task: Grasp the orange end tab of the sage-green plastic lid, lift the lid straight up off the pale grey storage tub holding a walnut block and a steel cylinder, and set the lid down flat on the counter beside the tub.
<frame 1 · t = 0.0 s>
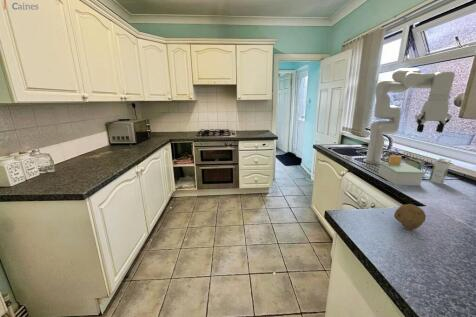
hand: (429, 131, 111), 31 cm above the counter, tool pointing down, fingers open, 9 cm apart
natural sponge: (406, 228, 82), on the counter
syrup box: (435, 183, 124), on the counter
tub: (397, 181, 127), on the counter
walnut block: (391, 177, 130), point 1 cm above the counter, touching tub
food container: (414, 174, 139), on the counter
steel cylinder: (406, 182, 123), point 1 cm above the counter, touching tub
lid: (400, 170, 125), point 7 cm above the counter, touching tub
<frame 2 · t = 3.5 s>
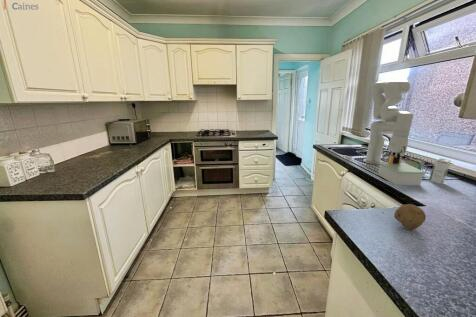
hand: (394, 162, 130), 10 cm above the counter, tool pointing down, fingers closed on lid
lid: (400, 170, 125), point 7 cm above the counter, touching gripper, tub
everything else where it was.
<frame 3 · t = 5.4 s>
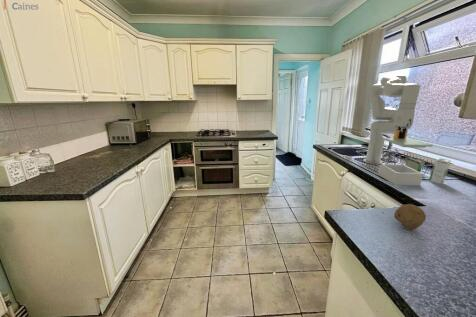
hand: (399, 137, 126), 25 cm above the counter, tool pointing down, fingers closed on lid
lid: (406, 144, 121), point 23 cm above the counter, touching gripper
everything else where it was.
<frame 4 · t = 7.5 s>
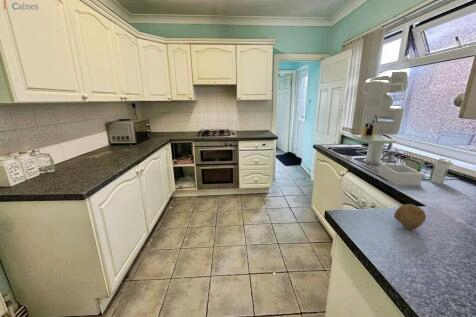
hand: (367, 134, 127), 27 cm above the counter, tool pointing down, fingers closed on lid
lid: (372, 141, 121), point 24 cm above the counter, touching gripper
everything else where it was.
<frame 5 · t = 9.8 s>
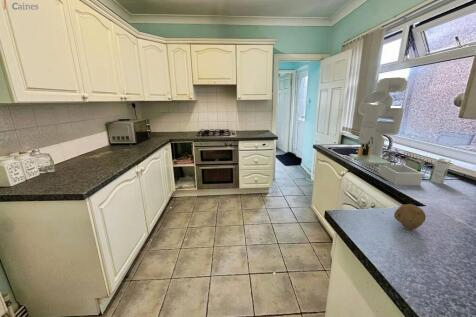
hand: (363, 154, 130), 15 cm above the counter, tool pointing down, fingers closed on lid
lid: (368, 161, 125), point 12 cm above the counter, touching gripper
everything else where it was.
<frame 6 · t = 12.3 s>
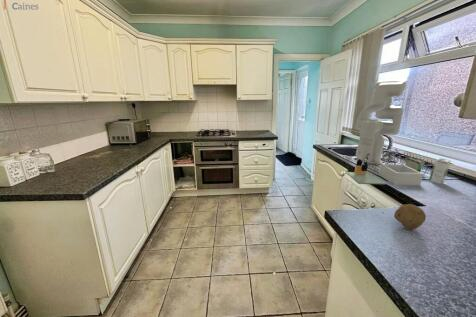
hand: (361, 168, 133), 5 cm above the counter, tool pointing down, fingers open, 6 cm apart
lid: (364, 180, 129), on the counter
everything else where it was.
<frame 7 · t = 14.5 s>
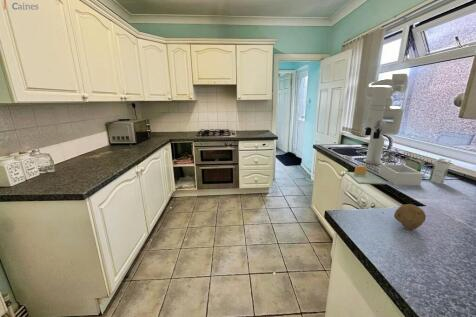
hand: (371, 136, 128), 25 cm above the counter, tool pointing down, fingers open, 9 cm apart
nothing on the counter moved.
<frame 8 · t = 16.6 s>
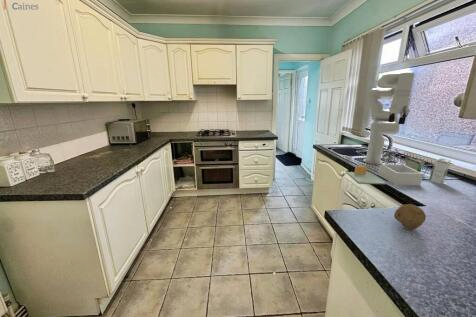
hand: (395, 123, 130), 33 cm above the counter, tool pointing down, fingers open, 9 cm apart
nothing on the counter moved.
at the end: lid inside the target area (0.6 cm from its centre), on the counter; lid tilted 0°; the gripper is holding nothing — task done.
